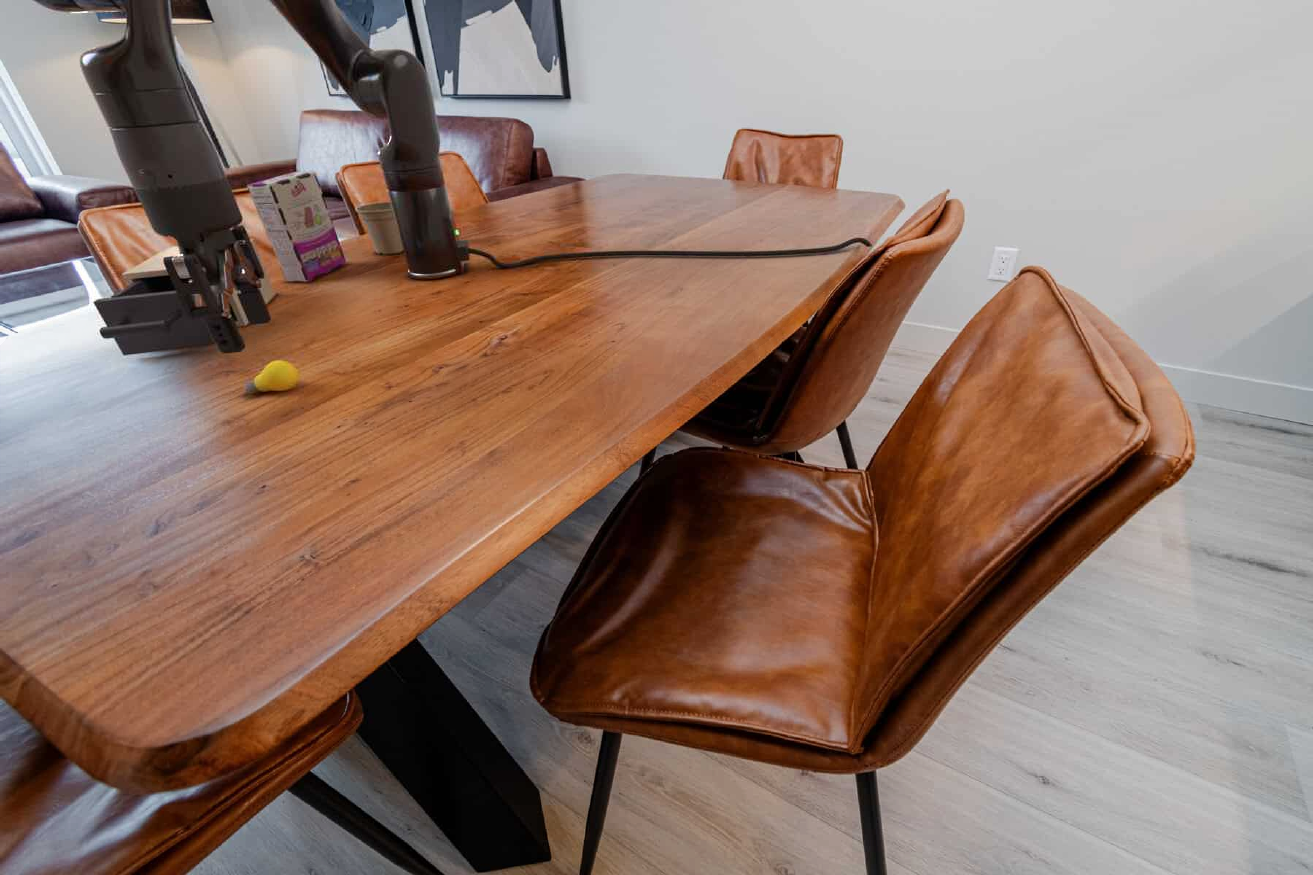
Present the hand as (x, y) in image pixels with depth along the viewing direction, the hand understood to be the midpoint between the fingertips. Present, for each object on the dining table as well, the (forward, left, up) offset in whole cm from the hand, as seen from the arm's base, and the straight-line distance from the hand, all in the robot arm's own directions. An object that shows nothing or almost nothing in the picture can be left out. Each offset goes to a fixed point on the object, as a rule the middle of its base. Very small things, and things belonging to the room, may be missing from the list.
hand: (248, 336), depth 66 cm
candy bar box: (+7, -50, -7) cm, 51 cm away
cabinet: (+17, -32, -7) cm, 37 cm away
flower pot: (-5, -61, -7) cm, 62 cm away
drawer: (+17, -20, -6) cm, 27 cm away
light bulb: (0, 0, -7) cm, 7 cm away
